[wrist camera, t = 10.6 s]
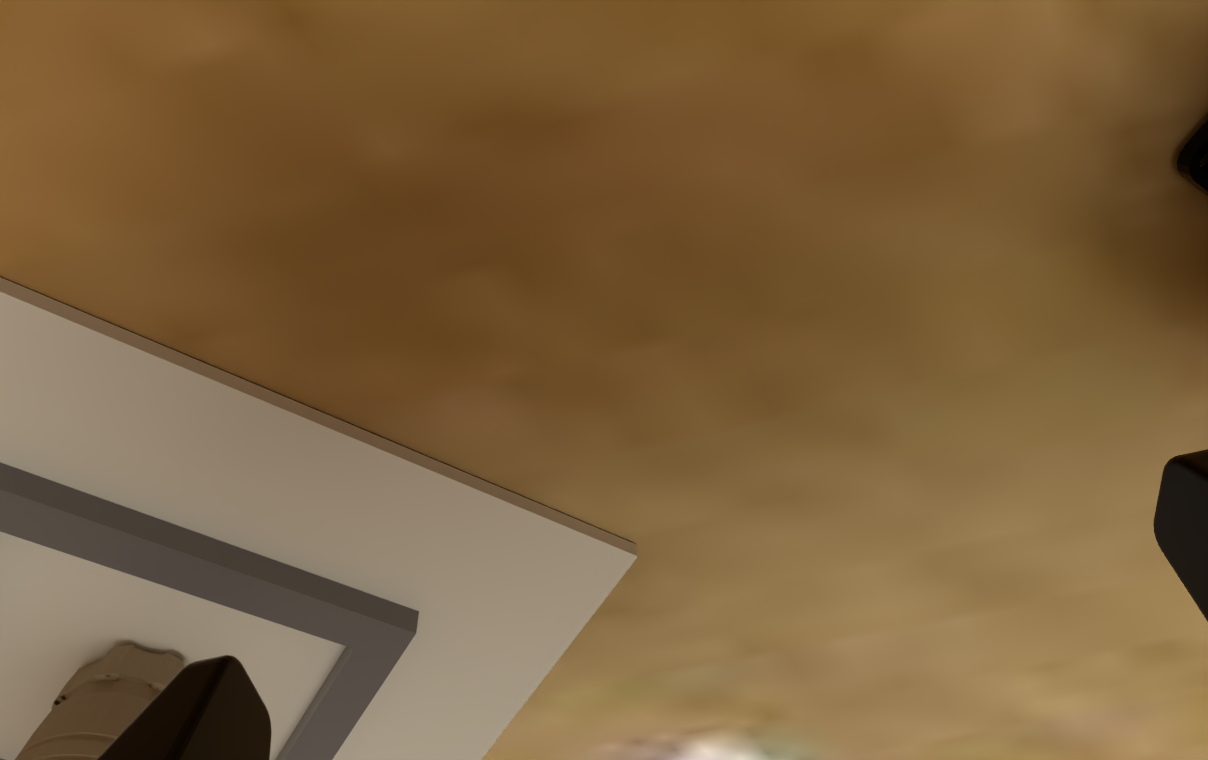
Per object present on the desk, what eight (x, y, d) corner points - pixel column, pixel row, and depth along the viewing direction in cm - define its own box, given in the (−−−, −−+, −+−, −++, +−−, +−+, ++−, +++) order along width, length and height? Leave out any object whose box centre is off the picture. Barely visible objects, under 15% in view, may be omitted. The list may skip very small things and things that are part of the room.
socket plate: (635, 544, 24) (642, 577, 22) (339, 932, 31) (332, 971, 30) (-218, 185, 17) (-269, 206, 16) (-331, 786, 25) (-372, 829, 24)
